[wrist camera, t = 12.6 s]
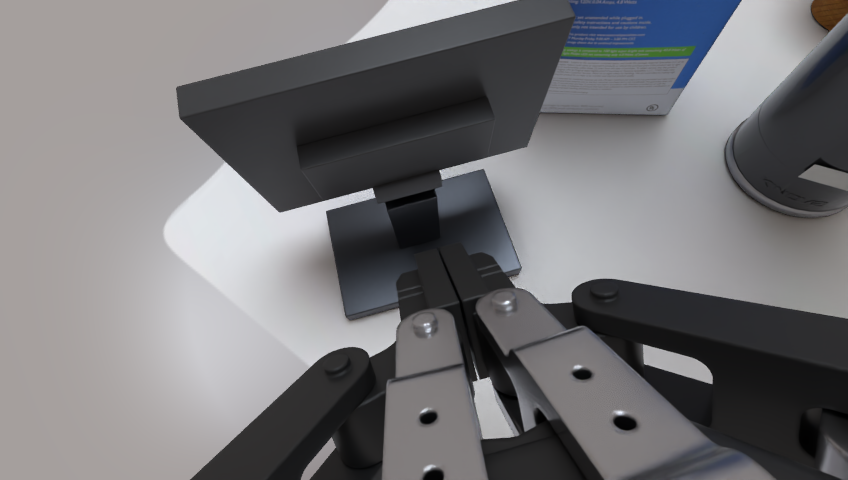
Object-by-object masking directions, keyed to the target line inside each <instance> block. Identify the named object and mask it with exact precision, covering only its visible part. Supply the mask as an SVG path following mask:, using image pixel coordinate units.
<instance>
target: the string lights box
mask: <svg viewBox="0 0 848 480" xmlns="http://www.w3.org/2000/svg"><path fill="white" fill-rule="evenodd" d="M568 1H569V3H570V5H571V7H572V9H573V11H574V13H575V16H576V18H575V20H574V23H573V26H572V28H571V31H570V34H569V36H568V39H567V42H566V44H565V47H564V50H563V52H562V55H561V58H560V60H559V63H558V65H557V68H556V71H555V73H554V76H553V79H552V81H551V84H550V87H549V89H548V92H547V95H546V97H545V100H544V103H543V105H542V108H541V111H540V112H556V113H601V114H647V115H666V114H668V113H669V112H670V110H671V108H672V107H673V105H674V104H675V102H676V100H677V99H678V97H679V96H680V94H681V93H682V91H683V90H684V88H685V86H686V85H687V83H688V82H689V80H690V79H691V77H692V76H693V74H694V73H695V71H696V70H697V68H698V67H699V65H700V64H701V62H702V60H703V59H704V57H705V56H706V54H707V53H708V51H709V50H710V48H711V47H712V45H713V44H714V42H715V40H716V39H717V37H718V36H719V34H720V33H721V31H722V30H723V28H724V27H725V25H726V23H727V22H728V20H729V19H730V17H731V16H732V14H733V13H734V11H735V10H736V8H737V7H738V5H739V4H740V2H741V1H742V0H568Z"/></svg>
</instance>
